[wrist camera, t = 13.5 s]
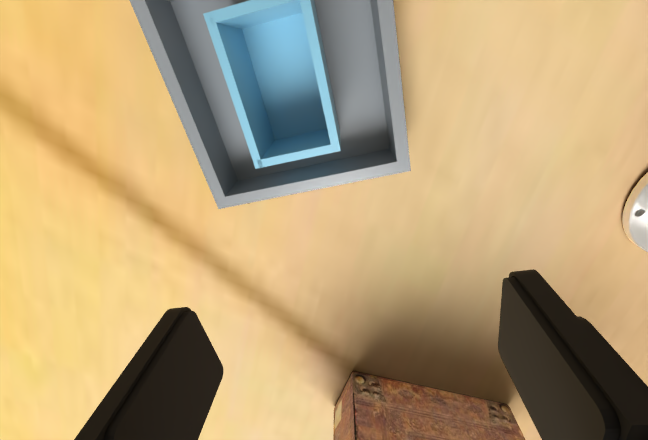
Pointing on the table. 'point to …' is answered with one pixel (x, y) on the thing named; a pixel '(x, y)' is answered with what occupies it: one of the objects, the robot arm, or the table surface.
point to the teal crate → (277, 78)
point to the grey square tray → (346, 82)
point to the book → (417, 413)
